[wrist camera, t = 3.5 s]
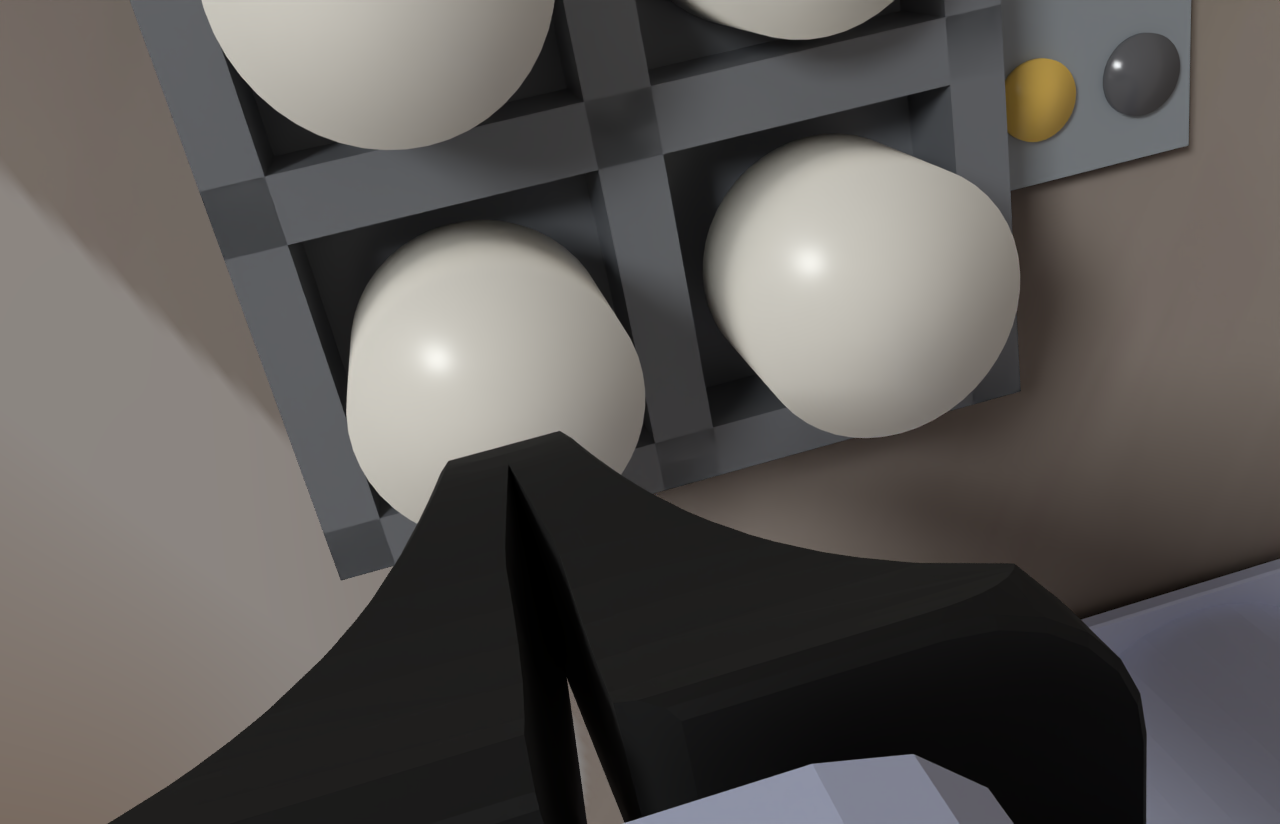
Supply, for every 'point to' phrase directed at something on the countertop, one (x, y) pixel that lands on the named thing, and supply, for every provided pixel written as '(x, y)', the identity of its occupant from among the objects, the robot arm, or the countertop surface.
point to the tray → (572, 206)
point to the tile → (1093, 83)
